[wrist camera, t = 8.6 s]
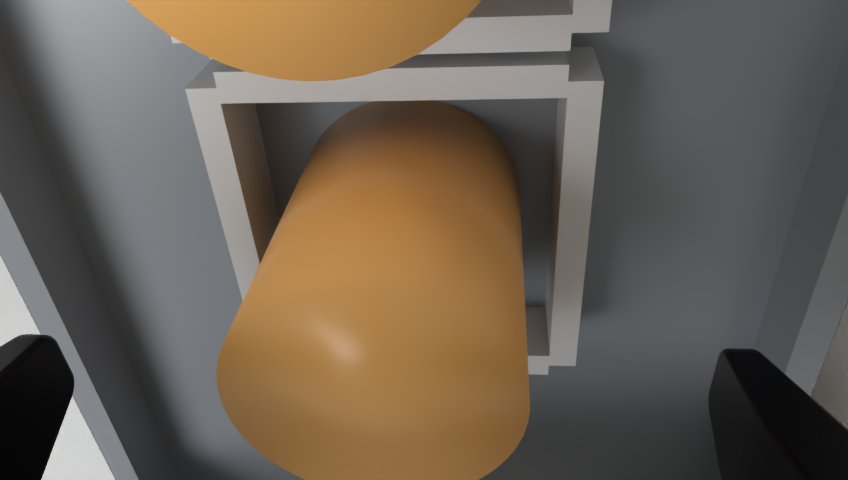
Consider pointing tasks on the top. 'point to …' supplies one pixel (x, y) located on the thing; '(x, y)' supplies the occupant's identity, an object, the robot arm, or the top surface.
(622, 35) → the housing
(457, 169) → the orange rounded cylinder
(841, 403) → the top surface
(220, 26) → the orange cylinder
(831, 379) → the top surface
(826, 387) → the top surface
